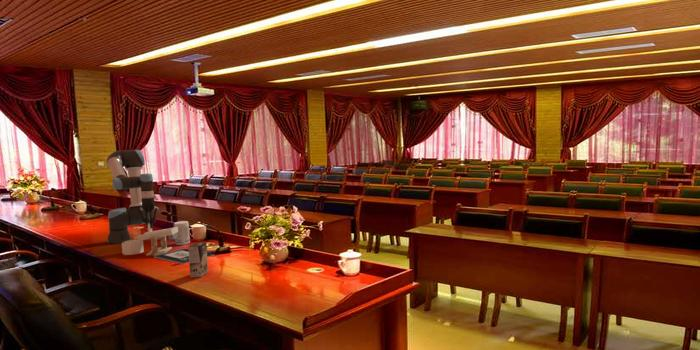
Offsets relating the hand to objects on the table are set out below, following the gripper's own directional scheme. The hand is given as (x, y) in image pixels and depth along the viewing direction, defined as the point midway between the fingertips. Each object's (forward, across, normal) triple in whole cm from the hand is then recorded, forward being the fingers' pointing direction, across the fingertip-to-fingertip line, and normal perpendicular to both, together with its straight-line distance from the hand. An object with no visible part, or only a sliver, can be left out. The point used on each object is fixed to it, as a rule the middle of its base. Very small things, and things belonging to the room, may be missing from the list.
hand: (150, 233), depth 301 cm
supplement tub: (+10, +16, +12) cm, 23 cm away
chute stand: (+10, +10, -10) cm, 17 cm away
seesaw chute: (+3, +10, -6) cm, 12 cm away
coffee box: (+11, +54, -62) cm, 83 cm away
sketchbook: (+11, +30, -23) cm, 40 cm away
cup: (+10, -7, -10) cm, 16 cm away
